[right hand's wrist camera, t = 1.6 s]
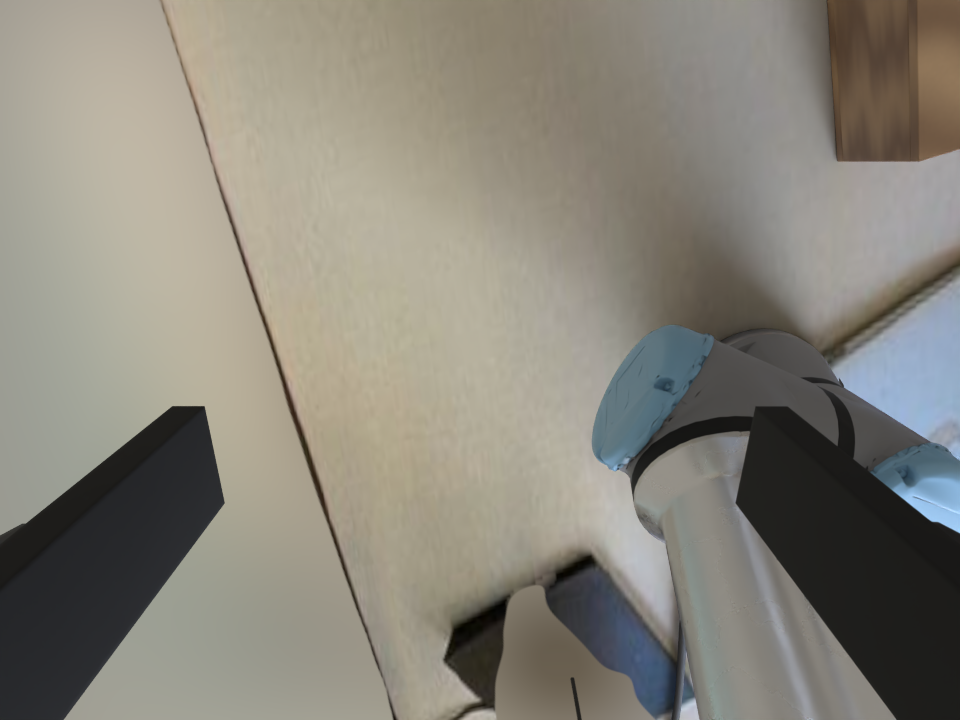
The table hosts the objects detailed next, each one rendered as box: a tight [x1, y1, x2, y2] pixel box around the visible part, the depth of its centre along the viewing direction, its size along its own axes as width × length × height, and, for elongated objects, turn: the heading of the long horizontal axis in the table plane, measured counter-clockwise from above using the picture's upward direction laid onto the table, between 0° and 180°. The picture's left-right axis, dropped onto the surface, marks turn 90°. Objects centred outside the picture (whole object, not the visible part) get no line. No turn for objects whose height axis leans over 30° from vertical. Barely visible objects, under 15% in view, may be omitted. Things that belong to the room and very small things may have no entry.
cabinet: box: [827, 0, 960, 162], centre depth 40 cm, size 17×11×10 cm, turn 17°
